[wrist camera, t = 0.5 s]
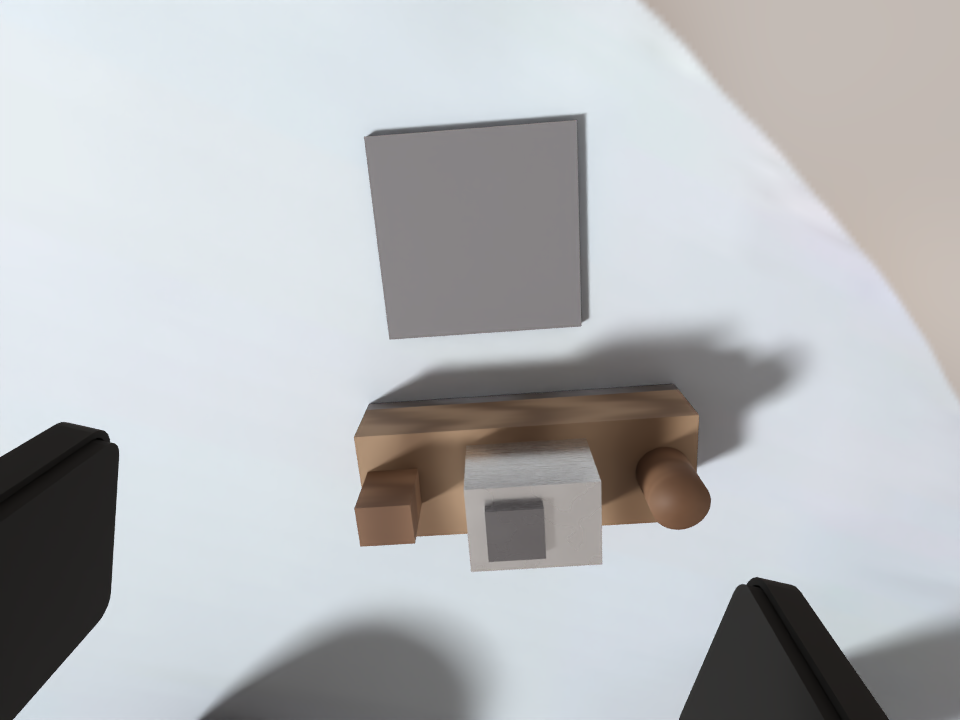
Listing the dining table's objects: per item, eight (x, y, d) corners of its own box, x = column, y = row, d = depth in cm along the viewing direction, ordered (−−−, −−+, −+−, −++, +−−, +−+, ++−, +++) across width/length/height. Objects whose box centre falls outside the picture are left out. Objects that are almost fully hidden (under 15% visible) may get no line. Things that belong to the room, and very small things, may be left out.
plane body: (382, 496, 43) (357, 581, 35) (368, 403, 41) (339, 470, 33) (671, 478, 43) (717, 561, 34) (673, 383, 41) (724, 446, 32)
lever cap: (472, 519, 38) (471, 579, 33) (466, 445, 37) (463, 496, 31) (587, 512, 38) (604, 571, 33) (586, 438, 36) (603, 487, 31)
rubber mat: (390, 336, 40) (389, 339, 39) (365, 136, 36) (364, 136, 35) (579, 323, 39) (581, 326, 39) (575, 120, 35) (576, 119, 35)
